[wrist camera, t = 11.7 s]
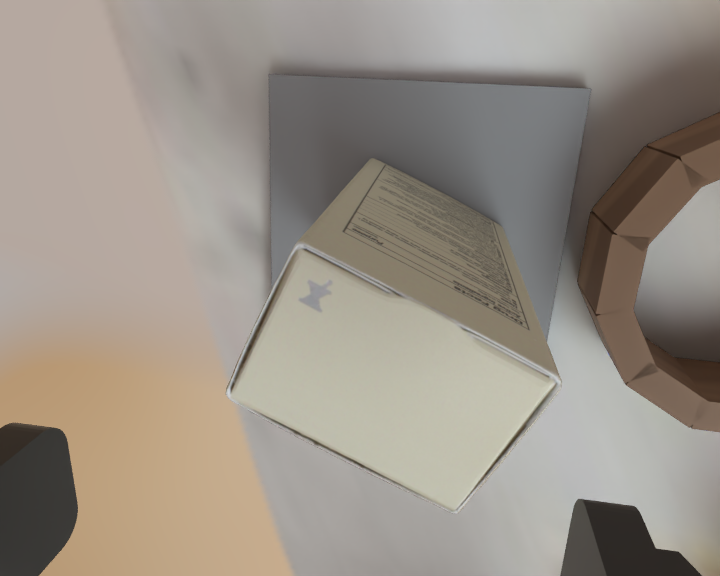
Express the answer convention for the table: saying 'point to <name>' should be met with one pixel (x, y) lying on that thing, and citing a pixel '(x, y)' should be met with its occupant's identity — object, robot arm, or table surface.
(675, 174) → the holder ring
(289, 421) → the skincare box
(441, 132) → the mat
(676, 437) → the table surface
